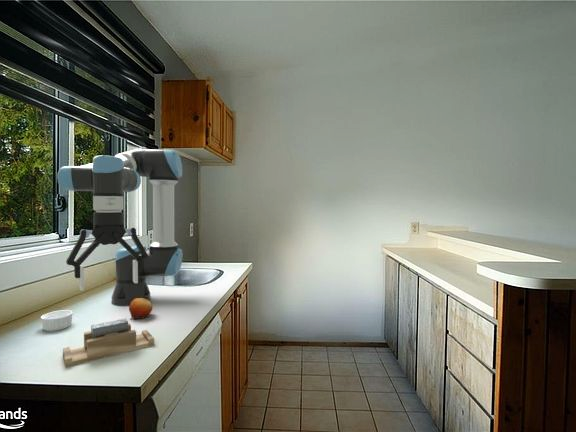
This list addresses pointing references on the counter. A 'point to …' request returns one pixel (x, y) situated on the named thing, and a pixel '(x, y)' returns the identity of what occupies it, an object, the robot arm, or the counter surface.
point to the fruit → (140, 308)
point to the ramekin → (56, 320)
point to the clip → (109, 328)
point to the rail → (107, 346)
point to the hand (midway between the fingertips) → (109, 285)
